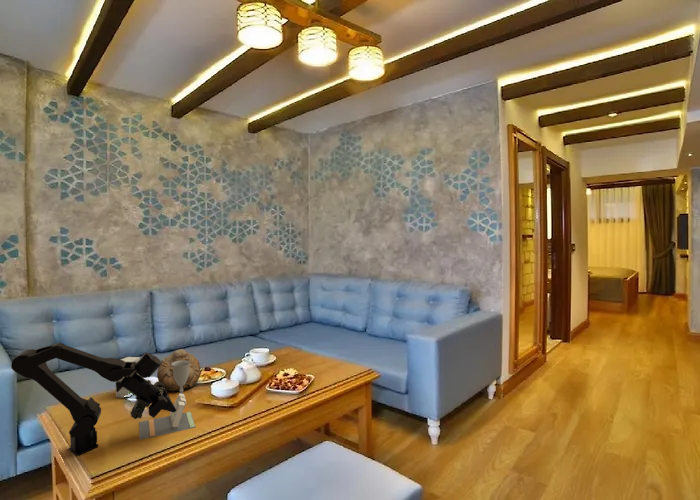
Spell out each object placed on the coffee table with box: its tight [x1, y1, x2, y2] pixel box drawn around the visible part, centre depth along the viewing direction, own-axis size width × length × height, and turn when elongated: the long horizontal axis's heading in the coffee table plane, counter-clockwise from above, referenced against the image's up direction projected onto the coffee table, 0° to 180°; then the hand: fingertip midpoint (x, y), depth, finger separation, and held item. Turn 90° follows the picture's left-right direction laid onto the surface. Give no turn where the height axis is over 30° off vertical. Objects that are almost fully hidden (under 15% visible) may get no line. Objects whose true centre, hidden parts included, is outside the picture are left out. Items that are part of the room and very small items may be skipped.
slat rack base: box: [138, 393, 196, 441], centre depth 146 cm, size 18×14×10 cm
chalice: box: [172, 360, 190, 405], centre depth 163 cm, size 7×7×18 cm
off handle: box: [171, 401, 186, 427], centre depth 145 cm, size 2×3×8 cm, turn 30°
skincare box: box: [114, 356, 141, 399], centre depth 175 cm, size 8×7×16 cm
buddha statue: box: [156, 348, 202, 393], centre depth 184 cm, size 20×17×17 cm
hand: (175, 411), depth 144 cm, fingers closed
